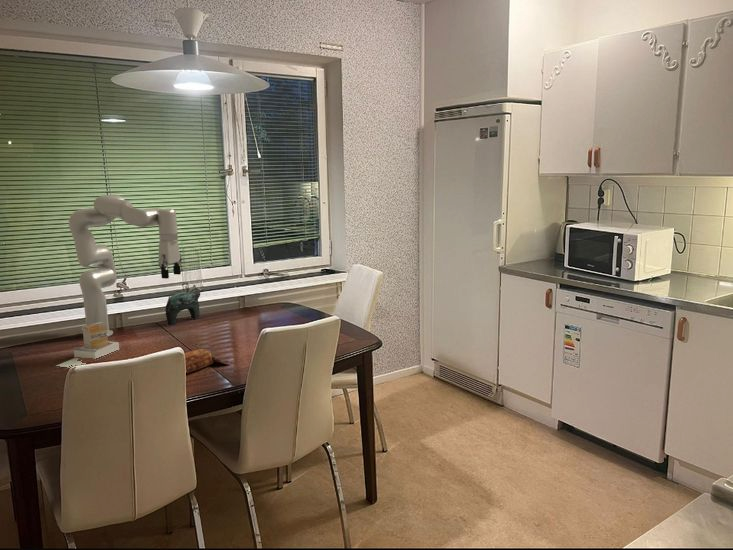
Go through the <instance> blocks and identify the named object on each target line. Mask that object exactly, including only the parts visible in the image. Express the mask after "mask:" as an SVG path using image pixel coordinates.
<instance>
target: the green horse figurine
mask: <svg viewBox="0 0 733 550" xmlns="http://www.w3.org/2000/svg"><path fill="white" fill-rule="evenodd" d="M185 284H186V285H187V286H185V289H186V290H185V291H180V290H175V291H173V292H171V293H170V294H169V296H168V300H167V302H166V305H165V315H166V316H165V317H166V320H167V326H171V325H172V326H175V324H176V325H177V316H178V315H179V313H180V312H182V311H183V310H188V312H189V314H190V317H191V319H192V318H194V319H193V320H197V319H196V318H198V317H200V304H199V298H200V297H201V290H200V288H198V287H197V286H196V284H193V286H191V287H189V286H190V285H189V283H187V282H183V283H182V284H181V286H182V287H183V286H184V285H185ZM198 319H199V318H198Z"/></svg>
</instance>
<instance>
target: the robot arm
mask: <svg viewBox="0 0 733 550" xmlns="http://www.w3.org/2000/svg"><path fill="white" fill-rule="evenodd" d="M116 219H119V220H122V221H123V223H126V224H128V225H131V226H135V227H141V228H148V227H155V226H158V236H159V242H158V260H157V264H158V266H159V269H160V275H161V279H165V280H167V279H169V277H170V273H169V272H170V271H169V265H172V266H173V267H172V268H173V275H181V273H182V272H181V265H182V258H183V257H182V256H183V255H182V254H181V253H180V246H179V245H180V244H179V238H178V224H177V223H178V222H177V212H176V210H175V209H172V208H165V209H163V208H159V207H158V208H144V209H141V208H135V207H133V204H132V203H131V201H129V200H126V199H125V198H124V197H122V195H118V194H107V195H100V196H98V197H96V198H95V199H94V201H93V208H91V207H90V208H82V209H78V210H75V211H73V212H72V213H71V214H70V215H69V220H68V227H69V230H70V233H71V236H72V239H73V242H74V247H75V252H76V257H77V260H78V263H79V265H80V266H81V267H83V268H92V267H97V268H93V269H90V270H86V271H83V272H82V273H81V274H80V276H79V278H78V282H79V286H80V289H81V294H82V298H83V300H82V301H83V307H84V316H85V325H90V324H94V323H98V322H103V323H106V326H107V338H108V337H111V336H112V335H113V334H114V331H113V330H111V329H110V326H109V314H108V307H107V297H106V295H105V294H104V291H103V290H102V289H105V288H107V287H108V288H109V287H111V286H113V285H115V283H116V282H117V276H118V275H117V270H116V265H115V260H114V256H113V253H112V251H111V249H110V248H109V246H106V245H105V244H97V245H96V241H95V236H94V235H93V233H92V231H91V230H90V229H89V228H93V227H94V228H95V227H102V226H107V225H109V224H110V223H111V222H113V221H114V220H116ZM80 330H81V331H82V332H83V328H82V327H81V328H80Z"/></svg>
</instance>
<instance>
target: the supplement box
mask: <svg viewBox="0 0 733 550" xmlns="http://www.w3.org/2000/svg"><path fill="white" fill-rule="evenodd" d="M81 328H83V331H82V337H83V346H84V348H87V349H96V350H98V349H101V348H103V347H105V346H108V341H109V339H108V337H107V326H106V323H103V322H98V323H94V324H90V325H86V324H85V325H81Z"/></svg>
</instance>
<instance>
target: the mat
mask: <svg viewBox="0 0 733 550" xmlns="http://www.w3.org/2000/svg"><path fill="white" fill-rule="evenodd" d="M78 359H79V358H74V357H73V358H71V359H69V360H67V361H64V362H62V363H59V364H57V365H55V366H60V367H67V368H66V369H68V368H70V367H72V366H75V365H81V364H86V363H82V362H81V361H82V360H81V361H77V360H78ZM71 365H72V366H71ZM69 366H70V367H69Z"/></svg>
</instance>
